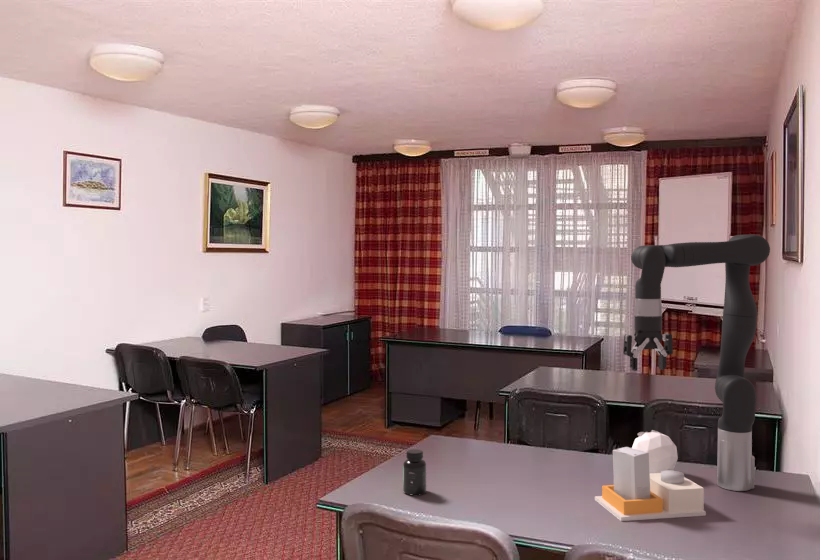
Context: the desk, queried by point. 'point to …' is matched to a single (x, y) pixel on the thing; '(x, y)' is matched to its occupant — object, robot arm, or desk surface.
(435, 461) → the desk surface
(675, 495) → the box holder with button
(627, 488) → the skincare box
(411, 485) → the supplement bottle
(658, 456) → the geodesic sphere
